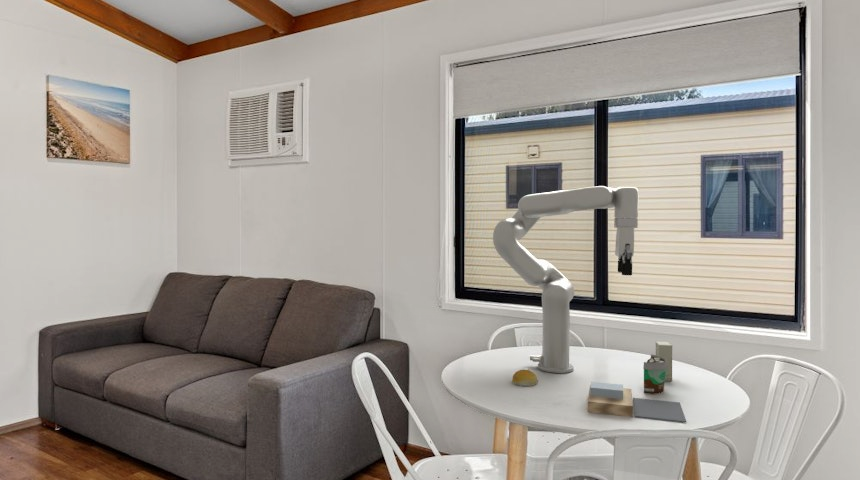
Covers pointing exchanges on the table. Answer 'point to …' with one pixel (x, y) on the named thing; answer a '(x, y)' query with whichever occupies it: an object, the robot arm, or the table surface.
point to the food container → (654, 374)
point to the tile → (606, 390)
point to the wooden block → (612, 404)
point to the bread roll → (525, 378)
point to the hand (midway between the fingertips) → (624, 273)
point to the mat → (658, 410)
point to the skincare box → (665, 351)
